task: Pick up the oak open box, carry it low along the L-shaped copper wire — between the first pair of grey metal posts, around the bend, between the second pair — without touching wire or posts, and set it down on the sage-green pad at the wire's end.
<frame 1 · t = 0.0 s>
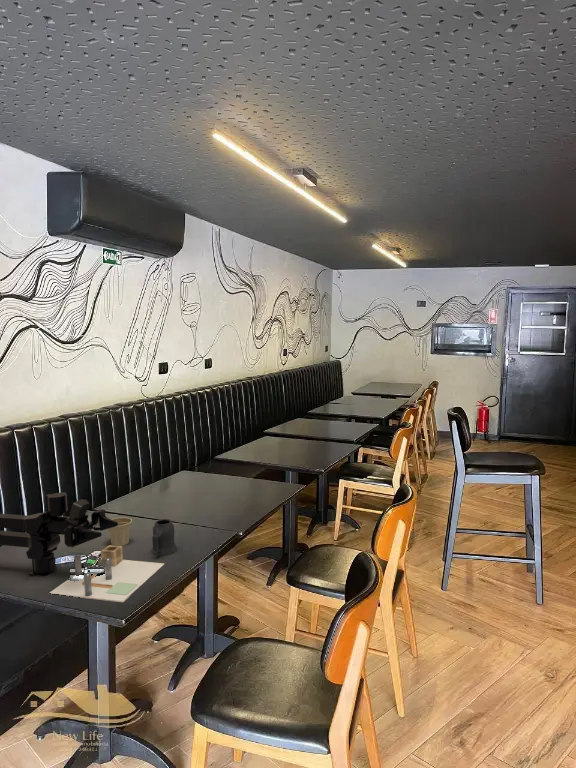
hand: (109, 529, 175), 17 cm above the table, tool horizontal, fingers open, 9 cm apart
flower pot: (120, 544, 206), on the table
dark grey holder: (162, 554, 196), on the table
wire and posts: (91, 572, 173), on the course mat
oak open box: (112, 562, 188), resting on course mat
course mat: (109, 578, 177), on the table
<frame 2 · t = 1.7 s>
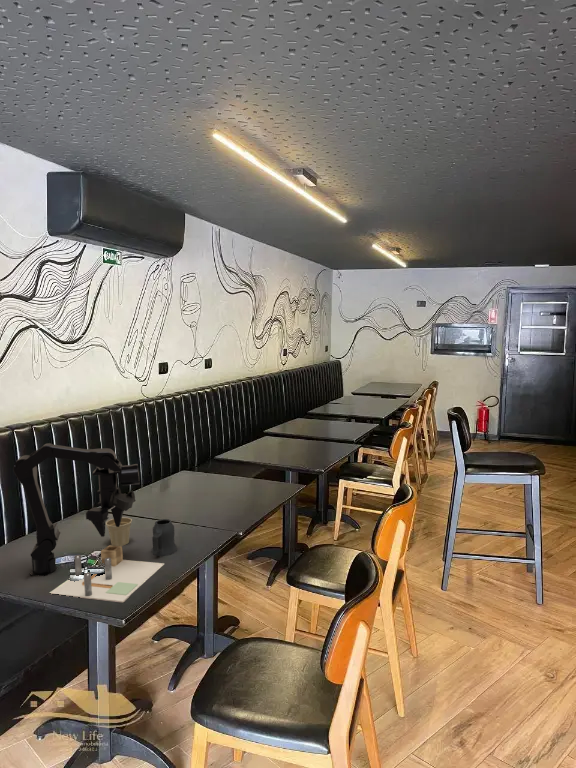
hand: (110, 531, 187), 11 cm above the table, tool pointing down, fingers open, 9 cm apart
nothing on the table moved.
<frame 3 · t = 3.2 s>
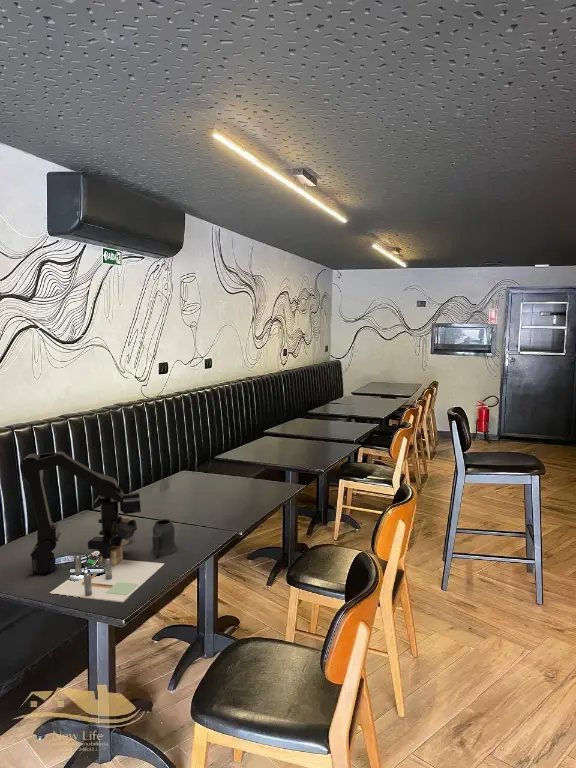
hand: (112, 559, 188), 2 cm above the table, tool pointing down, fingers closed on oak open box, 5 cm apart
oak open box: (112, 562, 188), resting on course mat, touching gripper
everything else where it was.
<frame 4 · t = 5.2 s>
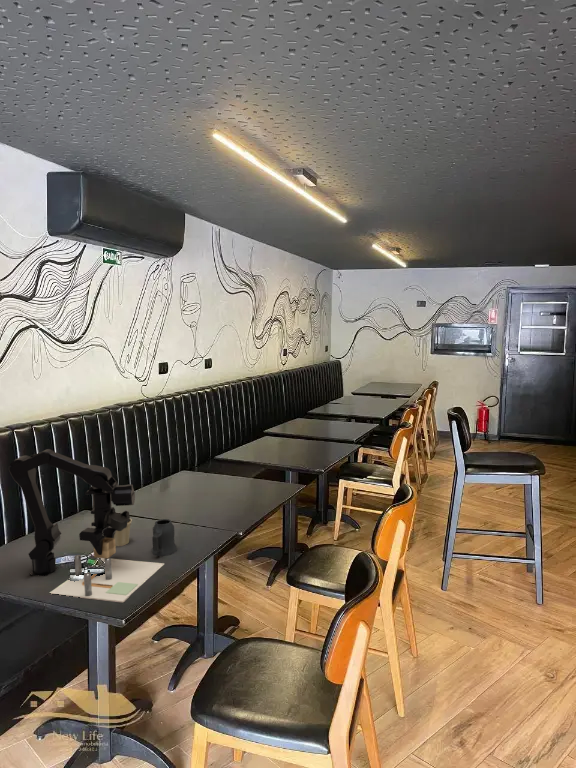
hand: (104, 551, 184), 6 cm above the table, tool pointing down, fingers closed on oak open box, 5 cm apart
oak open box: (105, 554, 184), point 5 cm above the table, touching gripper
everything else where it was.
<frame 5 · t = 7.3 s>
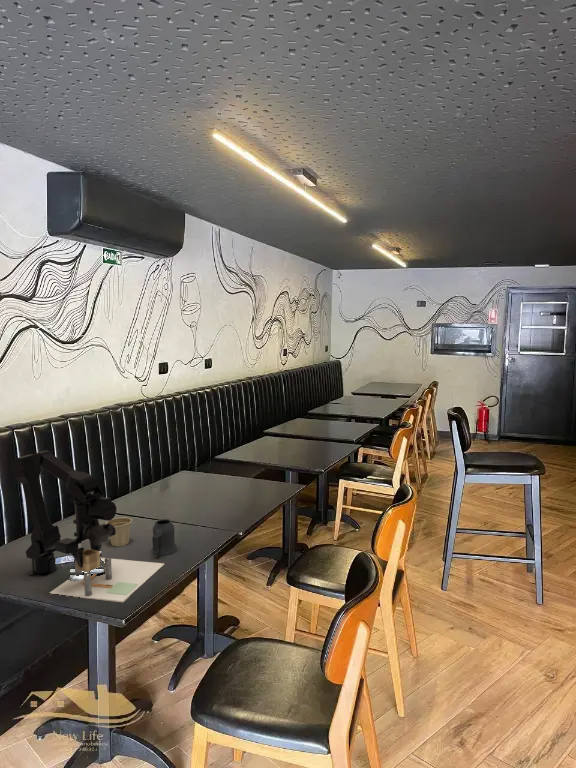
hand: (88, 564, 174), 6 cm above the table, tool pointing down, fingers closed on oak open box, 5 cm apart
oak open box: (88, 567, 174), point 5 cm above the table, touching gripper
everything else where it was.
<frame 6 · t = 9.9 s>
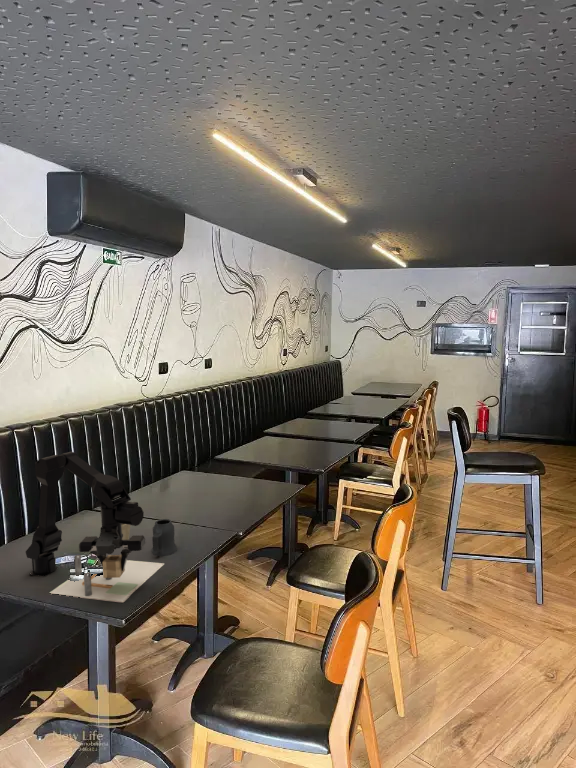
hand: (114, 570, 169), 6 cm above the table, tool pointing down, fingers closed on oak open box, 5 cm apart
oak open box: (114, 574, 169), point 5 cm above the table, touching gripper
everything else where it was.
when the fingers open (3 cm above the table, at t = 11.8 s): oak open box stays where it is, resting on course mat.
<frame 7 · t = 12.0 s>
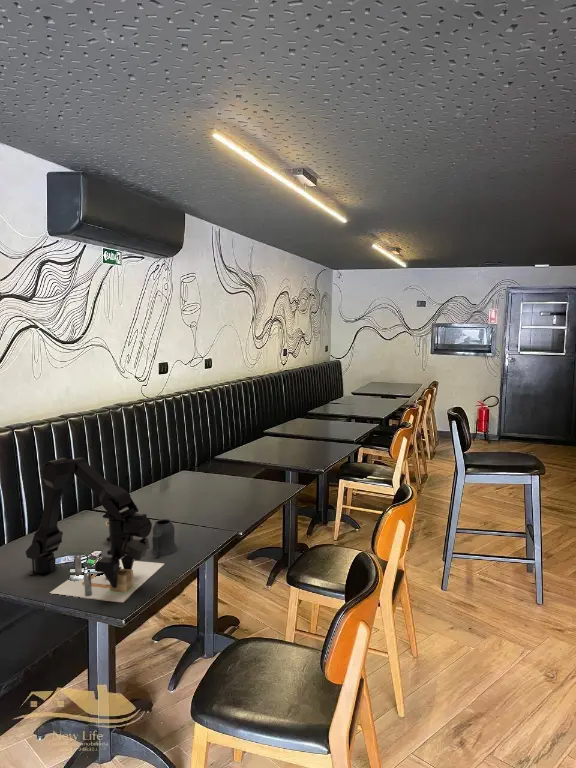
hand: (121, 581, 169), 3 cm above the table, tool pointing down, fingers open, 7 cm apart
oak open box: (122, 588, 169), point 1 cm above the table, touching course mat
everything else where it was.
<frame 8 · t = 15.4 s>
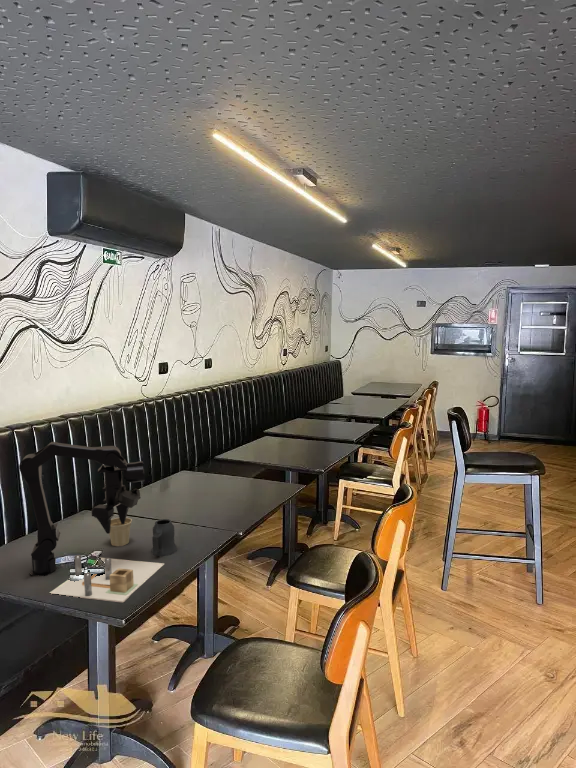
hand: (115, 528, 188), 12 cm above the table, tool pointing down, fingers open, 9 cm apart
nothing on the table moved.
at the end: oak open box 0.0 cm from the target spot, point 0.6 cm above the table; oak open box tilted 0°; oak open box touching course mat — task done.
